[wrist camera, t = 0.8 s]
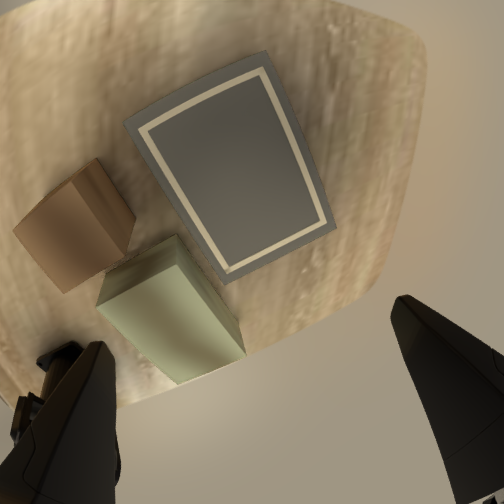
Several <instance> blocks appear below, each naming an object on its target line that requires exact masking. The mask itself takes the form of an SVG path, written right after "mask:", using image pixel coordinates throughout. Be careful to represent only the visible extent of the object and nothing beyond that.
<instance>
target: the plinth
mask: <svg viewBox="0 0 504 504" xmlns="http://www.w3.org/2000/svg"><path fill="white" fill-rule="evenodd" d="M122 123H123V125H124V127H125V128H126V130H127V132H128V133H129V135H130V137H131V139H132V140H133V142H134V144H135V145H136V147H137V149H138V150H139V152H140V154H141V155H142V157H143V159H144V160H145V162H146V164H147V165H148V167H149V168H150V170H151V172H152V173H153V175H154V177H155V178H156V180H157V182H158V183H159V185H160V186H161V188H162V190H163V191H164V193H165V194H166V196H167V198H168V199H169V201H170V202H171V204H172V206H173V207H174V209H175V210H176V212H177V213H178V215H179V217H180V218H181V220H182V221H183V223H184V224H185V226H186V228H187V229H188V231H189V232H190V234H191V235H192V237H193V238H194V240H195V242H196V243H197V245H198V246H199V248H200V249H201V251H202V252H203V254H204V255H205V257H206V258H207V260H208V261H209V263H210V264H211V266H212V267H213V269H214V270H215V272H216V273H217V275H218V276H219V278H220V279H221V281H222V282H223V284H224V285H226V284H228V283H230V282H232V281H234V280H236V279H238V278H240V277H242V276H244V275H246V274H248V273H250V272H252V271H254V270H256V269H258V268H260V267H262V266H264V265H266V264H268V263H270V262H272V261H274V260H276V259H278V258H280V257H282V256H284V255H286V254H288V253H290V252H292V251H294V250H296V249H298V248H299V247H301V246H303V245H305V244H307V243H309V242H311V241H313V240H315V239H317V238H319V237H321V236H323V235H325V234H327V233H329V232H330V231H332V230H334V229H336V228H337V227H336V224H335V221H334V217H333V214H332V212H331V209H330V206H329V203H328V200H327V197H326V194H325V191H324V188H323V186H322V183H321V180H320V177H319V175H318V172H317V169H316V167H315V164H314V161H313V159H312V156H311V153H310V151H309V148H308V146H307V143H306V141H305V138H304V136H303V133H302V131H301V128H300V126H299V123H298V121H297V118H296V116H295V114H294V111H293V109H292V106H291V104H290V102H289V100H288V97H287V95H286V93H285V90H284V88H283V86H282V84H281V81H280V79H279V77H278V75H277V73H276V70H275V68H274V66H273V64H272V62H271V60H270V58H269V56H268V54H267V51H266V50H265V51H262V52H259V53H257V54H254V55H252V56H249V57H247V58H244V59H242V60H239V61H237V62H235V63H232V64H230V65H228V66H226V67H223V68H221V69H219V70H217V71H215V72H212V73H210V74H208V75H206V76H204V77H202V78H200V79H198V80H196V81H194V82H192V83H190V84H188V85H186V86H184V87H182V88H180V89H178V90H176V91H174V92H173V93H171V94H169V95H167V96H165V97H163V98H162V99H160V100H158V101H156V102H155V103H153V104H151V105H149V106H148V107H146V108H144V109H143V110H141V111H139V112H138V113H136V114H134V115H133V116H131V117H130V118H128V119H126V120H125V121H123V122H122Z"/></svg>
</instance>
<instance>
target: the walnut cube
mask: <svg viewBox="0 0 504 504" xmlns="http://www.w3.org/2000/svg"><path fill="white" fill-rule="evenodd" d="M135 220H136V218H135V217H134V215H133V214H132V212H131V211H130V209H129V208H128V206H127V205H126V203H125V202H124V200H123V199H122V197H121V196H120V194H119V193H118V191H117V190H116V188H115V187H114V185H113V184H112V182H111V181H110V179H109V177H108V176H107V174H106V173H105V171H104V170H103V168H102V166H101V165H100V163H99V162H98V160H97V158H95V159H94V160H93V161H91V162H90V163H88V164H87V165H86V166H84V167H83V168H81V169H80V170H79V171H77V172H76V173H75V174H73V175H72V176H71V177H69V178H68V179H67V180H65V181H64V182H63V183H62V184H60V185H59V186H58V187H57V188H55V189H54V190H53V191H52V192H50V193H49V194H48V195H47V196H46V197H44V198H43V199H42V200H41V201H40V202H39V203H38V204H37V205H36V206H35V207H34V208H33V209H32V210H31V211H30V212H29V213H28V214H27V215H26V216H25V217H24V218H23V220H22V221H21V222H20V223H19V224H18V225H17V226H16V227H15V228H14V229H13V230H12V231H13V232H14V234H15V235H16V237H17V238H18V239H19V241H20V242H21V243H22V245H23V246H24V247H25V248H26V250H27V251H28V252H29V254H30V255H31V256H32V257H33V259H34V260H35V261H36V262H37V264H38V265H39V266H40V267H41V268H42V270H43V271H44V272H45V273H46V274H47V276H48V277H49V278H50V279H51V280H52V281H53V283H54V284H55V285H56V286H57V287H58V288H59V289H60V291H61V292H62V293H63V294H65V293H66V292H68V291H70V290H71V289H73V288H74V287H76V286H77V285H79V284H81V283H82V282H84V281H85V280H87V279H89V278H90V277H92V276H94V275H95V274H97V273H99V272H100V271H102V270H103V269H105V268H107V267H108V266H110V265H112V264H113V263H115V262H117V261H118V260H120V259H122V258H124V257H125V255H126V251H127V247H128V244H129V240H130V237H131V233H132V230H133V226H134V223H135Z"/></svg>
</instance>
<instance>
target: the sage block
mask: <svg viewBox="0 0 504 504" xmlns="http://www.w3.org/2000/svg"><path fill="white" fill-rule="evenodd" d="M96 308H97V310H98V311H99V312H100V313H101V314H102V315H103V316H104V317H105V318H106V319H107V320H108V321H109V322H110V323H111V324H112V325H113V326H114V327H115V328H116V329H117V330H118V331H119V332H120V333H121V334H122V335H123V336H124V337H125V338H126V339H127V340H128V341H129V342H130V343H131V344H132V345H133V346H134V347H135V348H137V349H138V350H139V351H140V352H141V353H142V354H143V355H144V356H145V357H146V358H147V359H149V360H150V361H151V362H152V363H153V364H154V365H155V366H156V367H157V368H159V369H160V370H161V371H162V372H163V373H164V374H166V375H167V376H168V377H169V378H170V379H171V380H173V381H174V382H175V383H176V384H177V385H178V384H181V383H183V382H186V381H188V380H191V379H194V378H196V377H199V376H201V375H204V374H206V373H209V372H211V371H213V370H216V369H218V368H221V367H223V366H225V365H228V364H230V363H232V362H235V361H237V360H239V359H242V358H244V357H246V356H247V354H246V351H245V347H244V343H243V339H242V335H241V332H240V328H239V324H238V322H237V320H236V319H235V318H234V316H233V315H232V313H231V312H230V311H229V309H228V308H227V307H226V305H225V304H224V302H223V301H222V299H221V298H220V297H219V295H218V294H217V292H216V291H215V290H214V288H213V287H212V285H211V284H210V282H209V281H208V279H207V278H206V277H205V275H204V274H203V272H202V271H201V269H200V268H199V266H198V265H197V264H196V262H195V261H194V259H193V258H192V256H191V255H190V253H189V252H188V250H187V249H186V247H185V246H184V244H183V243H182V241H181V240H180V238H179V237H178V235H177V234H175V235H174V236H172V237H170V238H168V239H166V240H165V241H163V242H161V243H159V244H157V245H156V246H154V247H152V248H150V249H148V250H147V251H145V252H143V253H141V254H140V255H138V256H136V257H134V258H133V259H131V260H129V261H127V262H126V263H124V264H122V265H120V266H119V267H117V268H115V269H114V270H112V271H110V272H108V273H107V274H105V278H104V281H103V284H102V287H101V291H100V294H99V298H98V301H97V305H96Z"/></svg>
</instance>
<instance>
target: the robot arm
mask: <svg viewBox="0 0 504 504" xmlns="http://www.w3.org/2000/svg"><path fill="white" fill-rule="evenodd" d="M390 317H391V323H392V326H393V329H394V332H395V335H396V337H397V341H398V344H399V346H400V349H401V353H402V355H403V359H404V361H405V364H406V366H407V368H408V371H409V373H410V375H411V378H412V380H413V382H414V385H415V387H416V390H417V392H418V395H419V397H420V399H421V402H422V404H423V407H424V409H425V412H426V415H427V417H428V420H429V422H430V425H431V428H432V430H433V433H434V436H435V438H436V441H437V444H438V447H439V450H440V453H441V456H442V459H443V461H444V465H445V468H446V471H447V475H448V478H449V481H450V484H451V488H452V491H453V494H454V498H455V501H456V504H469V503H472V502H474V501H476V500H479V499H481V498H483V497H485V496H488V495H490V494H492V493H494V494H493V495H492V496H490V497H489V498H488V499H486V500H485V501H484V502H483V504H504V356H503V355H502V354H500V353H499V352H497V351H496V350H494V349H493V348H492V349H491V347H490V346H488V345H487V344H485V343H483V342H482V341H481V340H479V339H478V338H476V337H474V336H473V335H472V334H470V333H469V332H467V331H465V330H464V329H462V328H461V327H459V326H458V325H456V324H455V323H453V322H452V321H450V320H449V319H447V318H446V317H444V316H442V315H441V314H439V313H438V312H436V311H435V310H433V309H431V308H430V307H428V306H427V305H425V304H423V303H422V302H420V301H418V300H417V299H415V298H414V297H412V296H410V295H402V296H398V297H397V298H396V300H395V303H394V306H393V309H392V312H391V316H390ZM36 364H37V365H38V366H39V367H40V368H41V369H42V370H44V371H45V372H46V376H45V379H44V383H43V387H42V391H41V395H40V398H39V397H37V396H35V395H34V394H33V393H31V392H29V393H28V396H27V397H26V396H19V398H18V401H17V405H16V409H15V413H14V417H13V422H12V427H11V432H10V435H11V437H12V439H13V441H14V448H13V450H12V451H11V452H10V454H9V455H8V456H7V457H6V459H5V460H4V461H3V462H2V464H1V465H0V504H115V486H116V485H117V483H118V481H119V477H120V472H121V459H120V454H119V448H118V442H117V435H116V429H115V428H116V377H115V359H114V357H113V355H112V353H111V352H110V350H109V349H108V347H107V345H106V344H105V342H103V341H93V342H91V343H90V344H89V345H88V346H87V347H86V349H85V350H83V349H82V348H81V347H80V346H79V345H78V344H76V343H75V342H69V343H67V344H65V345H63V346H61V347H59V348H58V349H56V350H54V351H52V352H50V353H48V354H46V355H44V356H42V357H40V358H38V359H37V362H36Z"/></svg>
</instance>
